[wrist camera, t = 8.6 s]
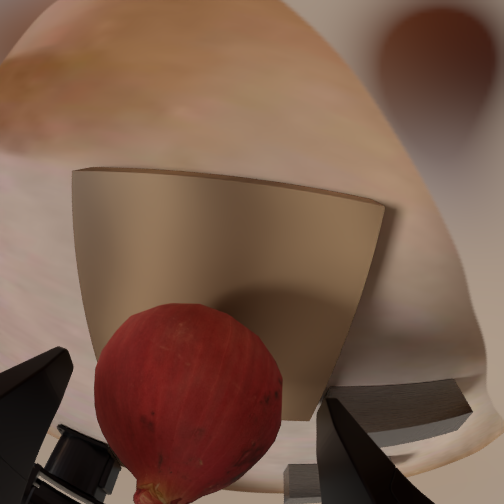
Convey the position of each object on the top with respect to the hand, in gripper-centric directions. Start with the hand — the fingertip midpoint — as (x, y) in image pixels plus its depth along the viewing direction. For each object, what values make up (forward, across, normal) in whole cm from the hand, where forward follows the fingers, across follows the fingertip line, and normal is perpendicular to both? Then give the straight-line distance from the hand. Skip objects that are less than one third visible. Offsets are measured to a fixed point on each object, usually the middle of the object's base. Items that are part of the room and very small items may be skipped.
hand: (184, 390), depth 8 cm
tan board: (+5, 0, 0) cm, 5 cm away
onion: (+4, 0, 0) cm, 4 cm away
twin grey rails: (+5, -12, +11) cm, 17 cm away
